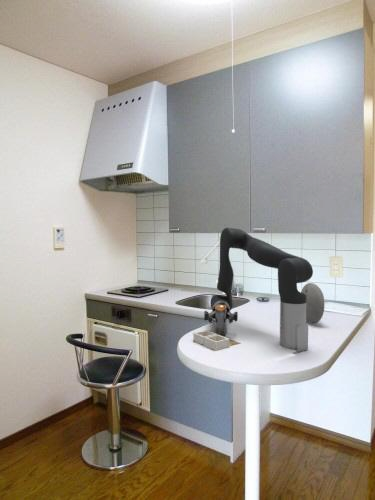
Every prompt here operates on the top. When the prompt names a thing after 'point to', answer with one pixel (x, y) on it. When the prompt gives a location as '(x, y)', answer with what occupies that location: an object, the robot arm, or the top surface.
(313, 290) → the grey round disc
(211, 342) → the brass-tag socket
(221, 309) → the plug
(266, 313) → the top surface
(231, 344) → the board
